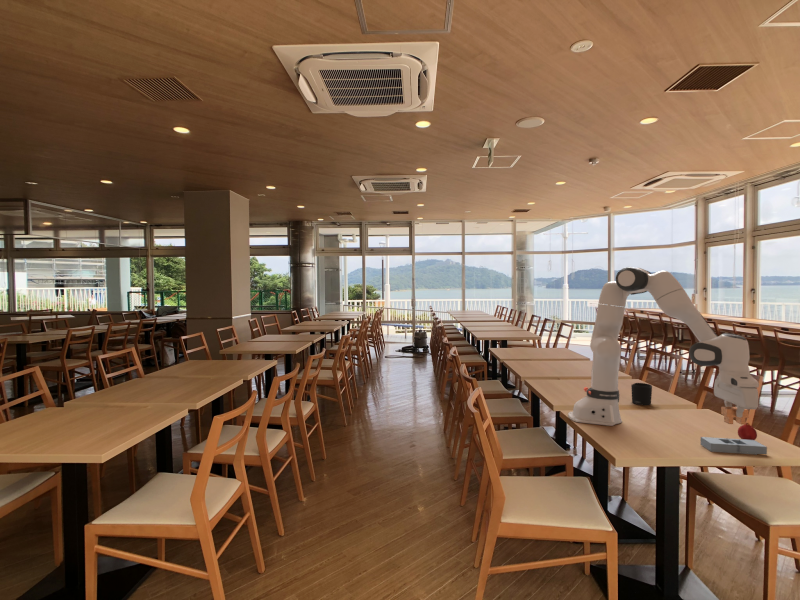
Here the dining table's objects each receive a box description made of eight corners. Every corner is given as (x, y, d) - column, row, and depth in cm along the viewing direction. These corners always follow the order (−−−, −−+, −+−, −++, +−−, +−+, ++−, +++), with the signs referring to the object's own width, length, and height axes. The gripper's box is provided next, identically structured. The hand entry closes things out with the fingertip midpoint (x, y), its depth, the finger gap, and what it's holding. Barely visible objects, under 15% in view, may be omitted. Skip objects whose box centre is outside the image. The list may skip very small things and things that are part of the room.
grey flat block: (710, 451, 151) (710, 443, 151) (700, 444, 158) (700, 436, 158) (766, 455, 148) (766, 446, 148) (753, 447, 155) (753, 440, 155)
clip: (727, 424, 151) (726, 409, 151) (721, 421, 155) (721, 406, 155) (748, 424, 150) (748, 409, 150) (742, 422, 154) (742, 407, 154)
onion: (737, 439, 164) (737, 419, 164) (756, 442, 160) (756, 422, 160) (737, 443, 159) (737, 422, 159) (757, 446, 156) (757, 425, 156)
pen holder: (627, 401, 222) (627, 382, 222) (645, 401, 222) (645, 382, 222) (637, 405, 213) (637, 386, 212) (655, 405, 212) (656, 386, 212)
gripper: (708, 372, 163) (709, 407, 163) (741, 383, 143) (742, 422, 143) (726, 372, 162) (726, 407, 162) (762, 383, 142) (762, 423, 142)
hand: (734, 414), depth 153 cm, fingers closed on clip, 3 cm apart
